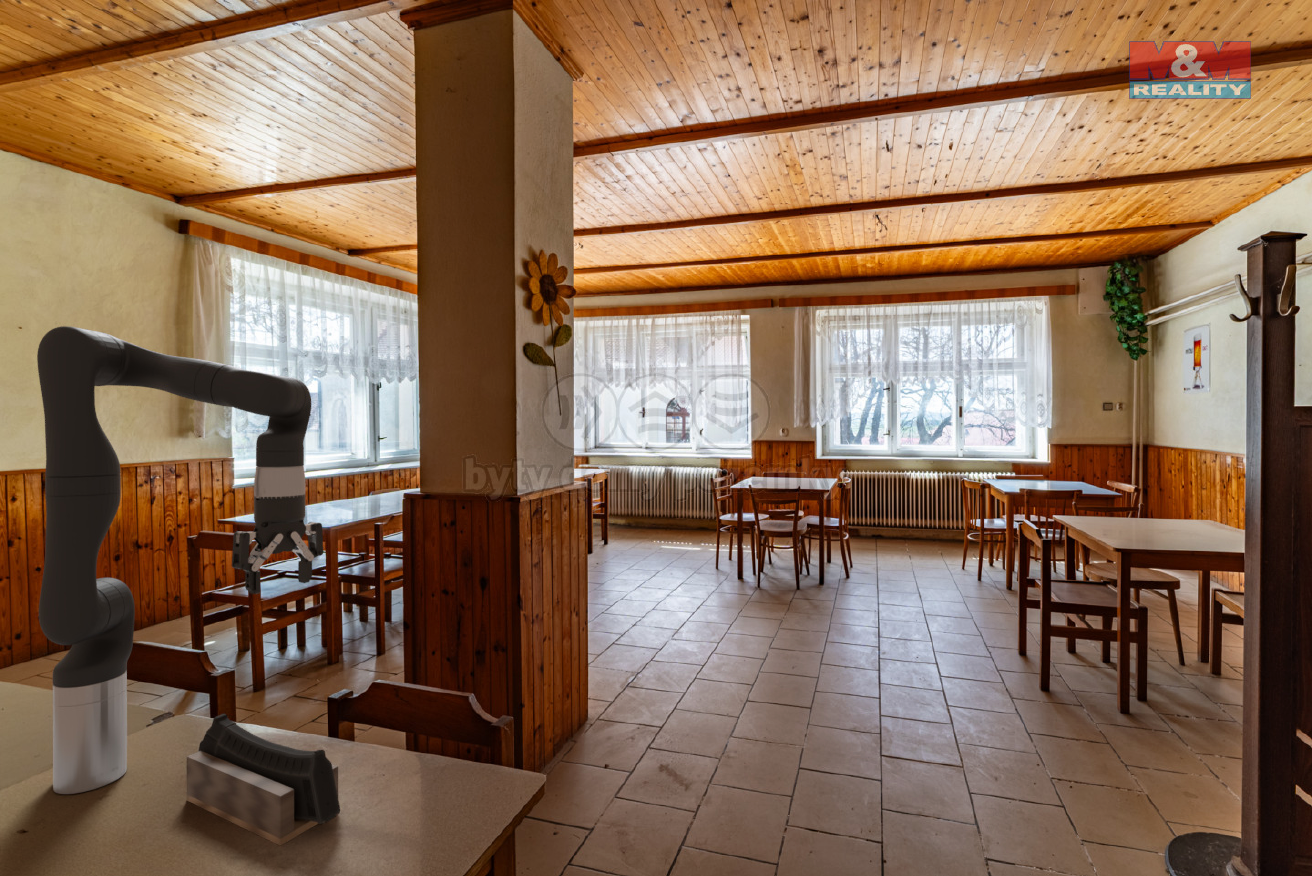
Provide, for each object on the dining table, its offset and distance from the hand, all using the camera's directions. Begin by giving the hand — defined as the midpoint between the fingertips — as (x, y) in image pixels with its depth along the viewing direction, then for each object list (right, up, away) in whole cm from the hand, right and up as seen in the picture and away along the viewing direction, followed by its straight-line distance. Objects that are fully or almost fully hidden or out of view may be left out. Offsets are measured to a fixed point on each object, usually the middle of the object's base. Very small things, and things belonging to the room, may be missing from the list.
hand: (279, 587), depth 107 cm
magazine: (+3, -31, -10) cm, 33 cm away
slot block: (+3, -32, -9) cm, 33 cm away
